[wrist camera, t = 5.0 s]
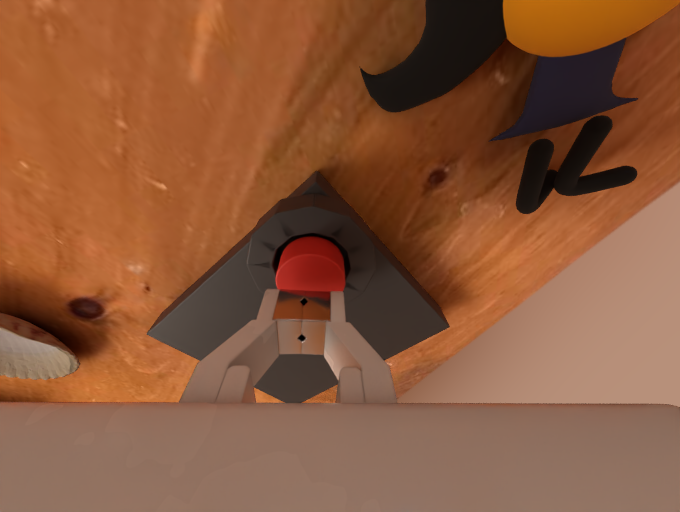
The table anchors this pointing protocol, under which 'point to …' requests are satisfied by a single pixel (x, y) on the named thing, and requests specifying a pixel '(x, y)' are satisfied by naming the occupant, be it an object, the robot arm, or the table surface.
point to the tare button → (311, 266)
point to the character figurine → (547, 82)
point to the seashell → (32, 351)
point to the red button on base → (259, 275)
